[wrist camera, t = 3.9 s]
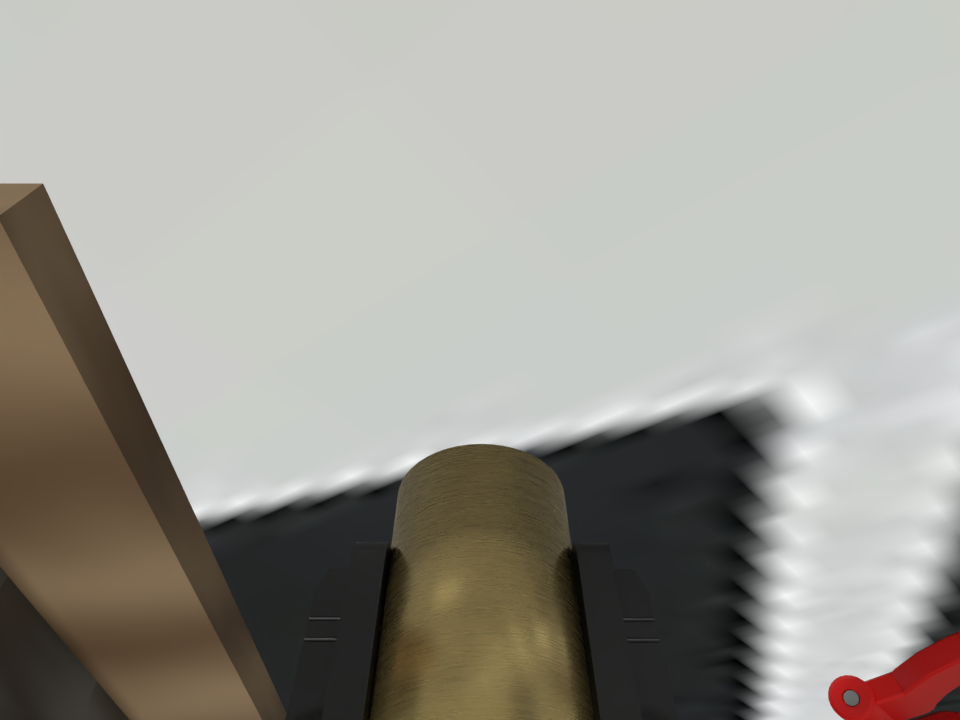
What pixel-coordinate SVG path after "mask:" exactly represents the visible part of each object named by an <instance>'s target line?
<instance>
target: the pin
mask: <svg viewBox="0 0 960 720" xmlns="http://www.w3.org/2000/svg"><path fill="white" fill-rule="evenodd" d="M369 720H594V714H593V707H592V699H591V692H590V684H589V677H588V669H587V662H586V654H585V647H584V639H583V632H582V624H581V617H580V610H579V602H578V595H577V587H576V580H575V572H574V565H573V557H572V548H571V540H570V533H569V525H568V518H567V510H566V503H565V496H564V490H563V486H562V483H561V481H560V479H559V478H558V476H557V474H556V473H555V472H554V471H553V470H552V469H551V468H550V467H549V466H548V465H547V464H546V463H544V462H543V461H542V460H540V459H538V458H537V457H535V456H533V455H531V454H529V453H527V452H524V451H521V450H518V449H515V448H511V447H507V446H501V445H494V444H468V445H461V446H456V447H451V448H447V449H444V450H441V451H438V452H436V453H434V454H432V455H429V456H427V457H426V458H424V459H422V460H421V461H419V462H418V463H417V464H416V465H414V466H413V467H412V468H411V469H410V470H409V471H408V472H407V474H406V475H405V477H404V478H403V480H402V482H401V484H400V487H399V491H398V498H397V505H396V513H395V521H394V529H393V536H392V544H391V554H390V562H389V570H388V577H387V585H386V593H385V601H384V608H383V616H382V624H381V632H380V639H379V647H378V655H377V663H376V670H375V678H374V686H373V694H372V701H371V709H370V717H369Z"/></svg>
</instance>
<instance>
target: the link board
mask: <svg viewBox="0 0 960 720" xmlns="http://www.w3.org/2000/svg"><path fill="white" fill-rule="evenodd" d="M286 715H287V713H286V711H285V709H284V707H283V704H282V702H281V700H280V698H279V696H278V694H277V691H276V689H275V687H274V685H273V683H272V681H271V678H270V676H269V674H268V672H267V670H266V667H265V665H264V663H263V661H262V659H261V657H260V654H259V652H258V650H257V648H256V646H255V643H254V641H253V639H252V637H251V635H250V633H249V630H248V628H247V626H246V624H245V622H244V620H243V617H242V615H241V613H240V611H239V609H238V606H237V604H236V602H235V600H234V598H233V596H232V593H231V591H230V589H229V587H228V585H227V583H226V580H225V578H224V576H223V574H222V572H221V569H220V567H219V565H218V563H217V561H216V559H215V556H214V554H213V552H212V550H211V548H210V546H209V543H208V541H207V539H206V537H205V535H204V532H203V530H202V528H201V526H200V524H199V522H198V519H197V517H196V515H195V513H194V511H193V509H192V506H191V504H190V502H189V500H188V498H187V495H186V493H185V491H184V489H183V487H182V485H181V482H180V480H179V478H178V476H177V474H176V471H175V469H174V467H173V465H172V463H171V461H170V458H169V456H168V454H167V452H166V450H165V448H164V445H163V443H162V441H161V439H160V437H159V434H158V432H157V430H156V428H155V426H154V424H153V421H152V419H151V417H150V415H149V413H148V411H147V408H146V406H145V404H144V402H143V400H142V397H141V395H140V393H139V391H138V389H137V387H136V384H135V382H134V380H133V378H132V376H131V374H130V371H129V369H128V367H127V365H126V363H125V360H124V358H123V356H122V354H121V352H120V350H119V347H118V345H117V343H116V341H115V339H114V337H113V334H112V332H111V330H110V328H109V326H108V323H107V321H106V319H105V317H104V315H103V313H102V310H101V308H100V306H99V304H98V302H97V299H96V297H95V295H94V293H93V291H92V289H91V286H90V284H89V282H88V280H87V278H86V276H85V273H84V271H83V269H82V267H81V265H80V262H79V260H78V258H77V256H76V254H75V252H74V249H73V247H72V245H71V243H70V241H69V239H68V236H67V234H66V232H65V230H64V228H63V225H62V223H61V221H60V219H59V217H58V215H57V212H56V210H55V208H54V206H53V204H52V202H51V199H50V197H49V195H48V193H47V191H46V188H45V186H44V184H43V183H0V720H285V718H286Z"/></svg>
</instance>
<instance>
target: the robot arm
mask: <svg viewBox="0 0 960 720" xmlns="http://www.w3.org/2000/svg"><path fill="white" fill-rule="evenodd" d="M390 554H391V546H390V543H389V542H356V543H355V544H354V547H353V551H352V556H351V561H350V567H349V569H329V570H328V572H327V573H326V575H325V576H324V578H323V579H322V581H321V582H320V584H319V585H318V587H317V588H316V590H315V591H314V596H313V600H312V605H311V609H310V613H309V621H308V622H307V627H306V631H305V635H304V642H303V644H302V649H301V653H300V658H299V662H298V666H297V671H296V675H295V680H294V684H293V688H292V693H291V697H290V702H289V706H288V710H287V715H286V718H285V720H369V717H370V709H371V701H372V694H373V686H374V678H375V670H376V663H377V655H378V647H379V639H380V632H381V624H382V616H383V608H384V601H385V593H386V585H387V577H388V570H389V562H390ZM572 557H573V565H574V572H575V580H576V587H577V595H578V602H579V610H580V617H581V624H582V632H583V639H584V647H585V654H586V662H587V669H588V677H589V684H590V692H591V699H592V707H593V714H594V720H678V717H677V713H676V709H675V704H674V700H673V696H672V691H671V687H670V683H669V678H668V674H667V670H666V665H665V661H664V657H663V652H662V648H661V644H660V643H659V635H658V631H657V626H656V622H655V621H654V613H653V609H652V605H651V601H650V596H649V592H648V590H647V589H646V587H645V586H644V584H643V583H642V581H641V580H640V578H639V577H638V575H637V574H636V572H635V571H634V569H614V567H613V562H612V557H611V552H610V548H609V545H608V543H573V545H572Z"/></svg>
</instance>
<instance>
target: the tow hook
mask: <svg viewBox="0 0 960 720" xmlns="http://www.w3.org/2000/svg"><path fill="white" fill-rule="evenodd" d="M958 686H960V631H959V632H956V633H953V634H951V635H948V636H947V637H945V638H943V639H941V640H939V641H937V642H935V643H933V644H931V645H930V646H928V647H926V648H924V649H922V650H920V651H918V652H917V653H915V654H914V655H913V656H911V657H910V658H909V659H907V660H906V661H904V662H903V663H902V664H900V665H899V666H898V667H896V668H895V669H894V670H893V671H892V672H889V673H887V674H884V675H881V676H878V677H875V678H873V679H870V680H867V681H863V680H862V679H860V678H858V677H855V676H852V675H844V676H840V677H838V678H836V679H835V680H834V681H833V682H832V683H831V685H830V687H829V690H828V699H829V702H830V705H831V707H832V708H833V710H834V711H835V712H836V713H837V714H838V715H839V716H840V717H841V718H842V719H844V720H911V719H910V718H913V717H917V716H920V715H923V714H926V713H929V712H930V711H932V710H933V709H934V708H935V706H936V704H937V703H938V702H939V701H940V700H941V699H942V698H943V697H944V696H945V695H946V694H948V693H949V692H951V691H952V690H954V689H955V688H957V687H958ZM914 720H960V712H953V711H939V712H935V713H932V714H929V715H926V716H923V717H920V718H917V719H914Z"/></svg>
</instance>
